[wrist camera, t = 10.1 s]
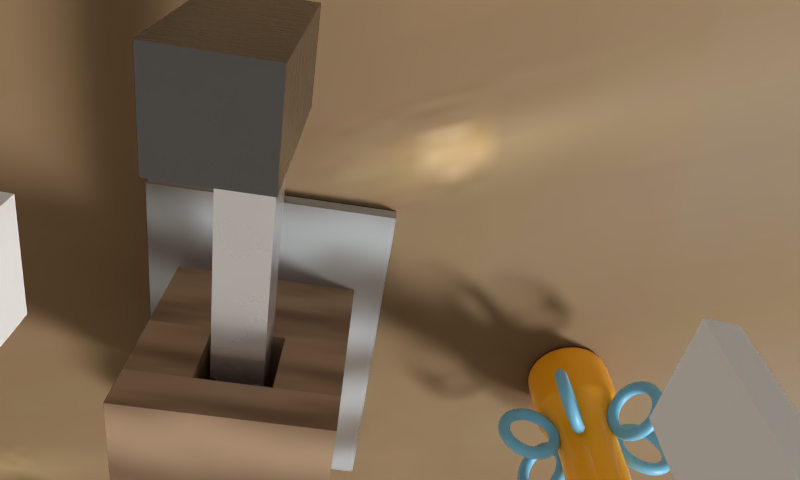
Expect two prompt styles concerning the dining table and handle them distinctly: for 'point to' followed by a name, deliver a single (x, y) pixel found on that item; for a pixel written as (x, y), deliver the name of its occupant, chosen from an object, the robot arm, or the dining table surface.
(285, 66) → the grey mallet
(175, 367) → the block
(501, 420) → the cylinder
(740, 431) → the robot arm
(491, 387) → the dining table surface
